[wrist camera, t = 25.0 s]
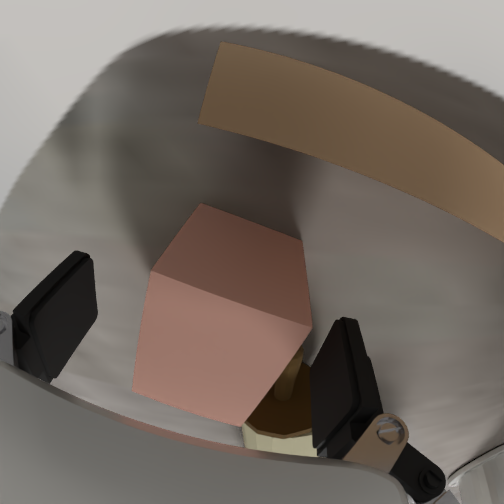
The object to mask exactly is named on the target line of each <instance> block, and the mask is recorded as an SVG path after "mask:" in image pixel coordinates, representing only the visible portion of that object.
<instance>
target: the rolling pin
mask: <svg viewBox="0 0 504 504" xmlns="http://www.w3.org/2000/svg"><path fill="white" fill-rule="evenodd" d="M303 353H304V349H303V347H302V345H301V346H300V347H299V349H298V350H297V352H296V353H295V355H294V356H293V358H292V359H291V360H290V362H289V363H288V365H287V366H286V368H285V369H284V370H283V372H282V373H281V374H280V376H279V377H278V379H277V380H276V381H275V383H274V384H273V385H272V387H271V388H270V390H269V391H268V392H267V394H266V395H265V396H264V398H263V399H262V400H261V401H260V403H259V404H258V405H257V407H256V408H255V409H254V411H253V412H252V413H251V414H250V416H249V417H248V418H247V420H246V421H245V422H244V423H243V425H242V432H243V438H244V444H245V448H248V449H254V450H261V451H268V452H275V453H282V454H290V455H299V456H309V457H318V456H317V449H314V448H313V445H312V418H311V396H310V377H309V373H310V368H311V367H309V366H307V365H306V364H304V363H302V359H303Z"/></svg>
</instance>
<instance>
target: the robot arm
mask: <svg viewBox="0 0 504 504" xmlns="http://www.w3.org/2000/svg"><path fill="white" fill-rule="evenodd" d="M97 315H98V310H97V301H96V291H95V280H94V266H93V260H92V259H91V258H90V255H89V254H87V253H84V252H80V251H74V252H73V253H72V254H70V255H69V256H68V257H67V258H66V259H65V260H64V261H63V262H62V263H61V264H59V265H58V266H57V267H56V268H55V269H54V270H53V271H52V272H51V273H50V274H49V275H48V276H47V277H46V278H45V279H43V280H42V281H41V282H40V283H39V284H38V285H37V286H36V287H35V288H34V289H33V290H32V291H31V292H30V293H29V294H28V295H27V296H26V297H25V298H24V299H23V300H22V301H21V302H20V303H19V304H18V306H17V307H16V308H15V309H14V310H13V314H12V316H11V317H10V315H9V314H7V313H6V312H3V311H0V504H460V503H459V502H458V500H457V499H456V498H455V496H454V495H453V494H452V492H451V491H450V490H448V491H446V490H445V489H444V488H445V485H446V479H445V475H444V473H443V471H442V470H441V469H440V468H439V467H438V466H437V465H436V464H434V463H433V462H432V461H430V460H429V459H428V458H426V457H425V456H424V455H423V454H421V453H420V452H419V451H418V450H416V449H415V448H414V447H413V446H411V445H410V444H409V443H407V441H408V438H409V432H408V429H407V426H406V425H405V423H404V422H403V421H402V420H401V419H400V418H399V417H397V416H395V415H393V414H389V413H387V414H384V413H383V409H382V404H381V400H380V395H379V391H378V387H377V383H376V379H375V375H374V371H373V367H372V363H371V360H370V358H369V357H368V356H367V354H366V350H365V346H364V342H363V338H362V335H361V331H360V328H359V324H358V321H357V320H356V319H352V318H346V317H341V318H340V320H335V322H334V324H333V326H332V328H331V330H330V332H329V334H328V336H327V338H326V339H325V341H324V343H323V345H322V347H321V349H320V351H319V353H318V355H317V357H316V358H315V360H314V362H313V364H312V366H311V368H310V373H309V377H310V396H311V418H312V445H313V448H314V449H317V456H321V457H327V458H320V457H309V456H299V455H290V454H282V453H275V452H268V451H261V450H254V449H248V448H242V447H237V446H231V445H226V444H221V443H217V442H212V441H208V440H203V439H199V438H195V437H191V436H187V435H183V434H179V433H176V432H172V431H169V430H165V429H162V428H158V427H155V426H152V425H149V424H146V423H143V422H140V421H137V420H134V419H131V418H128V417H125V416H122V415H120V414H117V413H114V412H112V411H109V410H107V409H104V408H101V407H99V406H96V405H94V404H92V403H89V402H87V401H85V400H82V399H80V398H78V397H75V396H73V395H71V394H69V393H67V392H65V391H63V390H60V389H58V388H56V387H54V386H52V385H50V382H51V381H52V379H53V378H57V377H58V375H59V374H60V372H61V371H62V369H63V368H64V366H65V365H66V363H67V362H68V360H69V358H70V357H71V355H72V354H73V352H74V351H75V349H76V348H77V346H78V345H79V344H80V342H81V341H82V339H83V338H84V336H85V335H86V333H87V332H88V330H89V329H90V328H91V326H92V325H93V323H94V322H95V320H96V318H97ZM38 378H39V379H38ZM40 379H41V380H40ZM42 380H43V381H42ZM44 381H45V382H44ZM448 486H450V487H455V486H459V490H460V495H461V500H462V504H504V445H502V446H500V447H497V448H495V449H494V450H492V451H490V452H488V453H486V454H484V455H482V456H481V457H479V458H477V459H475V460H474V461H472V462H470V463H469V464H467V465H466V466H464V467H462V468H461V469H459V470H458V471H457V472H455V473H454V474H453V475H452V476H451V477H450V478H449V479H448Z"/></svg>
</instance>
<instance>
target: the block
mask: <svg viewBox="0 0 504 504" xmlns="http://www.w3.org/2000/svg"><path fill="white" fill-rule="evenodd" d="M312 328H313V326H312V316H311V307H310V298H309V290H308V282H307V273H306V266H305V258H304V250H303V243H302V241H301V240H298V239H296V238H293V237H291V236H288V235H285V234H283V233H280V232H278V231H275V230H272V229H270V228H267V227H265V226H262V225H259V224H257V223H254V222H251V221H249V220H246V219H243V218H241V217H238V216H235V215H233V214H230V213H227V212H224V211H222V210H219V209H216V208H214V207H211V206H208V205H205V204H203V203H200V204H199V205H198V207H197V208H196V209H195V211H194V212H193V213H192V215H191V216H190V217H189V219H188V220H187V221H186V223H185V224H184V225H183V227H182V228H181V229H180V231H179V232H178V233H177V235H176V236H175V237H174V239H173V240H172V242H171V243H170V244H169V246H168V247H167V248H166V250H165V251H164V253H163V254H162V255H161V257H160V258H159V260H158V261H157V262H156V264H155V265H154V267H153V268H152V270H151V273H150V277H149V283H148V288H147V293H146V298H145V304H144V309H143V315H142V321H141V327H140V333H139V340H138V347H137V354H136V361H135V369H134V377H133V386H132V391H134V392H136V393H138V394H141V395H143V396H146V397H149V398H151V399H154V400H156V401H159V402H162V403H164V404H167V405H170V406H173V407H176V408H179V409H181V410H184V411H187V412H190V413H194V414H197V415H200V416H203V417H206V418H210V419H213V420H217V421H220V422H224V423H227V424H231V425H235V426H239V427H241V426H242V425H243V423H244V422H245V421H246V420H247V418H248V417H249V416H250V414H251V413H252V412H253V411H254V409H255V408H256V407H257V405H258V404H259V403H260V401H261V400H262V399H263V398H264V396H265V395H266V394H267V392H268V391H269V390H270V388H271V387H272V385H273V384H274V383H275V381H276V380H277V379H278V377H279V376H280V374H281V373H282V372H283V370H284V369H285V368H286V366H287V365H288V363H289V362H290V360H291V359H292V358H293V356H294V355H295V353H296V352H297V350H298V349H299V347H300V346H301V344H302V343H303V342H304V340H305V339H306V337H307V336H308V334H309V333H310V331H311V330H312Z"/></svg>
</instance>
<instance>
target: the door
mask: <svg viewBox="0 0 504 504" xmlns="http://www.w3.org/2000/svg"><path fill="white" fill-rule="evenodd" d="M197 124H202V125H206V126H210V127H214V128H218V129H222V130H226V131H230V132H234V133H238V134H241V135H245V136H249V137H252V138H256V139H259V140H263V141H266V142H270V143H273V144H276V145H279V146H283V147H286V148H289V149H292V150H295V151H298V152H301V153H304V154H307V155H310V156H313V157H316V158H319V159H322V160H325V161H328V162H330V163H333V164H336V165H339V166H341V167H344V168H347V169H349V170H352V171H355V172H357V173H360V174H362V175H365V176H367V177H370V178H372V179H375V180H377V181H380V182H382V183H385V184H387V185H389V186H392V187H394V188H396V189H399V190H401V191H403V192H405V193H408V194H410V195H412V196H414V197H417V198H419V199H421V200H423V201H425V202H427V203H429V204H432V205H434V206H436V207H438V208H440V209H442V210H444V211H446V212H448V213H450V214H452V215H454V216H456V217H458V218H460V219H462V220H464V221H466V222H467V223H469V224H471V225H473V226H475V227H477V228H479V229H480V230H482V231H484V232H486V233H488V234H489V235H491V236H493V237H495V238H496V239H498V240H500V241H502V242H503V243H504V165H503V164H502V163H500V162H499V161H498V160H496V159H495V158H494V157H492V156H491V155H490V154H488V153H487V152H485V151H484V150H483V149H481V148H480V147H478V146H477V145H475V144H474V143H472V142H471V141H469V140H468V139H466V138H465V137H463V136H462V135H460V134H458V133H457V132H455V131H454V130H452V129H450V128H449V127H447V126H445V125H444V124H442V123H440V122H439V121H437V120H435V119H433V118H432V117H430V116H428V115H426V114H424V113H423V112H421V111H419V110H417V109H415V108H413V107H411V106H409V105H407V104H405V103H403V102H401V101H399V100H397V99H395V98H393V97H391V96H389V95H387V94H385V93H383V92H380V91H378V90H376V89H374V88H372V87H369V86H367V85H365V84H362V83H360V82H357V81H355V80H352V79H350V78H347V77H345V76H342V75H340V74H337V73H334V72H332V71H329V70H326V69H323V68H320V67H317V66H314V65H311V64H308V63H305V62H302V61H299V60H296V59H292V58H289V57H285V56H282V55H278V54H275V53H271V52H267V51H263V50H259V49H255V48H250V47H246V46H241V45H237V44H232V43H227V42H220V46H219V49H218V52H217V55H216V58H215V62H214V65H213V68H212V72H211V75H210V79H209V82H208V86H207V89H206V93H205V97H204V100H203V104H202V108H201V112H200V115H199V119H198V123H197Z"/></svg>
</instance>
